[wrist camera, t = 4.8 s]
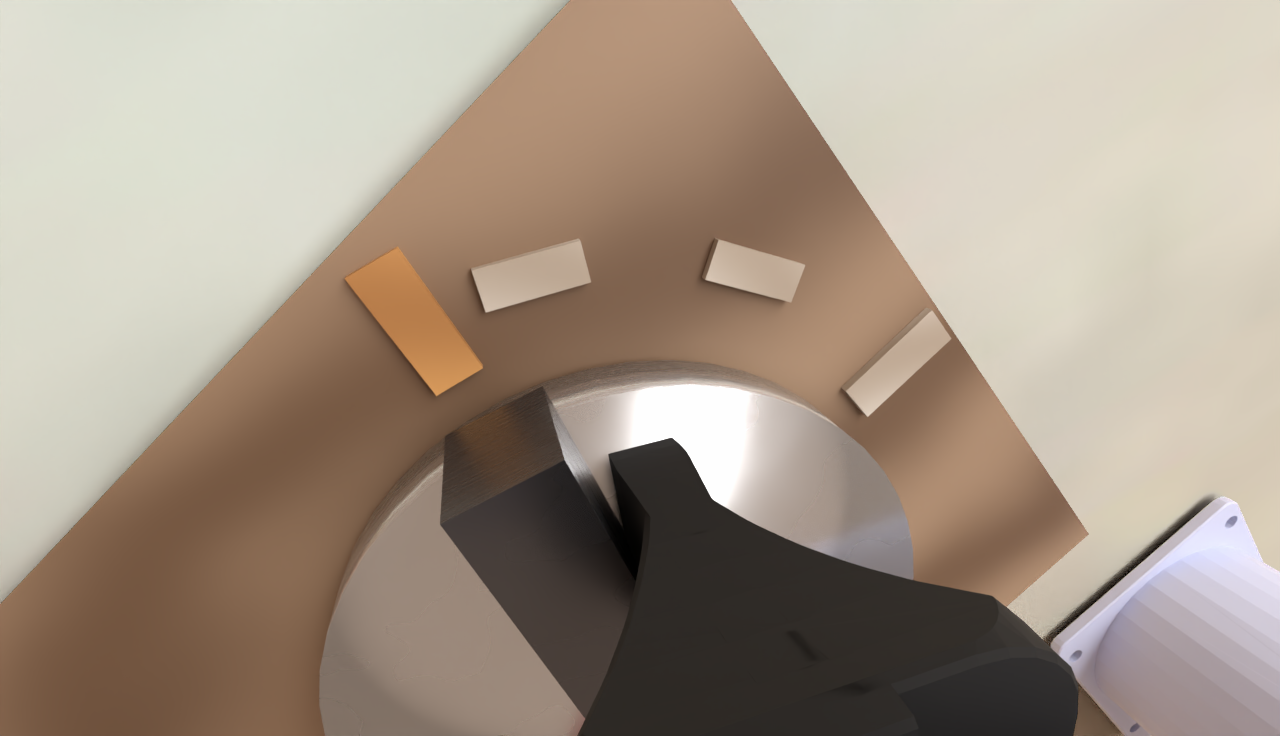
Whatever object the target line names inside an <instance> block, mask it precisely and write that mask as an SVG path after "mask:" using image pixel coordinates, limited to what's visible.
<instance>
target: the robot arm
mask: <svg viewBox="0 0 1280 736" xmlns="http://www.w3.org/2000/svg"><path fill="white" fill-rule="evenodd" d="M608 456H609V461H610V466H611V471H612V476H613V481H614V485H615V490H616V495H617V500H618V505H619V510H620V515H621V520H622V525H623V530H624V534H625V536H626V539H627V542H628V545H629V547H630V550H631V553H632V555H633V558H634V561H635V564H636V566H637V568H638V574H637V579H636V583H635V588H634V592H633V595H632V599H631V603H630V607H629V611H628V614H627V618H626V621H625V624H624V627H623V630H622V633H621V636H620V639H619V641H618V644H617V647H616V649H615V652H614V655H613V658H612V660H611V663H610V666H609V668H608V671H607V673H606V676H605V678H604V681H603V683H602V685H601V687H600V689H599V691H598V694H597V696H596V698H595V700H594V702H593V704H592V706H591V708H590V710H589V712H588V714H587V716H586V719H585V721H584V723H583V725H582V727H581V729H580V731H579V733H578V735H577V736H1073V733H1074V728H1075V724H1076V719H1077V714H1078V683H1079V684H1080V685H1081V687H1082V688H1083V689H1084V690H1085V691H1086V692H1087V693H1088V695H1089V696H1090V697H1091V698H1092V699H1093V700H1094V702H1095V703H1096V704H1097V705H1098V706H1099V707H1100V708H1101V710H1102V711H1103V712H1104V713H1105V714H1106V715H1107V716H1108V718H1109V719H1110V720H1111V721H1112V722H1113V723H1114V725H1115V726H1116V727H1117V728H1118V729H1119V730H1120V731H1121V733H1122V734H1123V735H1124V736H1280V572H1279V571H1277V570H1275V569H1274V568H1272V567H1270V566H1268V565H1266V564H1265V563H1263V560H1262V558H1261V556H1260V554H1259V551H1258V549H1257V547H1256V544H1255V542H1254V540H1253V538H1252V535H1251V533H1250V531H1249V529H1248V526H1247V524H1246V522H1245V519H1244V517H1243V515H1242V513H1241V510H1240V508H1239V506H1238V504H1237V503H1236V502H1235V501H1233V500H1231V499H1229V498H1227V497H1219V498H1216V499H1215V500H1213V501H1212V502H1211V503H1209V504H1208V505H1207V506H1206V507H1205V508H1204V509H1202V510H1201V511H1200V512H1199V513H1198V514H1197V515H1196V516H1194V517H1193V518H1192V519H1191V520H1190V521H1189V522H1187V523H1186V524H1185V525H1184V526H1183V527H1182V528H1181V529H1179V530H1178V531H1177V532H1176V533H1175V534H1174V535H1172V536H1171V537H1170V538H1169V539H1168V540H1167V541H1166V542H1164V543H1163V544H1162V545H1161V546H1160V547H1159V548H1157V549H1156V550H1155V551H1154V552H1153V553H1152V554H1151V555H1149V556H1148V557H1147V558H1146V559H1145V560H1144V561H1143V562H1141V563H1140V564H1139V565H1138V566H1137V567H1136V568H1134V569H1133V570H1132V571H1131V572H1130V573H1129V574H1128V575H1126V576H1125V577H1124V578H1123V579H1122V580H1121V581H1119V582H1118V583H1117V584H1116V585H1115V586H1114V587H1113V588H1111V589H1110V590H1109V591H1108V592H1107V593H1106V594H1104V595H1103V596H1102V597H1101V598H1100V599H1099V600H1098V601H1096V602H1095V603H1094V604H1093V605H1092V606H1091V607H1089V608H1088V609H1087V610H1086V611H1085V612H1084V613H1083V614H1081V615H1080V616H1079V617H1078V618H1077V619H1076V620H1074V621H1073V622H1072V623H1071V624H1070V625H1069V626H1068V627H1066V628H1065V629H1064V630H1063V631H1062V632H1061V633H1060V634H1058V635H1057V636H1056V637H1055V638H1054V639H1053V641H1052V643H1051V646H1050V647H1049V646H1048V645H1047V644H1046V643H1045V642H1044V641H1043V640H1042V639H1041V638H1040V637H1039V636H1038V635H1037V634H1036V633H1035V632H1034V631H1033V630H1032V629H1031V628H1030V627H1029V626H1028V625H1027V624H1026V623H1025V622H1024V621H1022V620H1021V619H1020V618H1019V617H1018V616H1016V615H1015V614H1014V613H1013V612H1011V611H1010V610H1009V609H1008V608H1007V607H1005V606H1004V605H1003V604H1002V603H1001V602H999V601H998V600H997V599H996V598H994V597H993V596H991V595H986V594H981V593H976V592H970V591H965V590H960V589H955V588H950V587H945V586H940V585H935V584H929V583H924V582H919V581H915V580H911V579H907V578H903V577H899V576H895V575H892V574H888V573H884V572H880V571H877V570H873V569H869V568H866V567H863V566H860V565H856V564H853V563H850V562H847V561H844V560H841V559H838V558H835V557H832V556H830V555H827V554H824V553H821V552H819V551H816V550H813V549H810V548H808V547H805V546H803V545H800V544H798V543H795V542H793V541H790V540H788V539H786V538H784V537H782V536H779V535H777V534H775V533H773V532H771V531H769V530H767V529H764V528H762V527H760V526H758V525H756V524H754V523H752V522H750V521H748V520H746V519H745V518H743V517H741V516H739V515H738V514H736V513H734V512H733V511H731V510H729V509H728V508H726V507H724V506H723V505H721V504H720V503H718V502H716V501H715V500H713V499H712V498H711V496H710V494H709V492H708V490H707V488H706V486H705V484H704V482H703V480H702V478H701V477H700V475H699V473H698V471H697V469H696V467H695V465H694V463H693V461H692V460H691V458H690V456H689V454H688V452H687V451H686V450H685V449H684V448H683V447H682V446H681V445H680V444H679V443H678V442H677V441H676V440H675V439H674V438H672V437H671V438H667V439H663V440H659V441H655V442H651V443H648V444H644V445H640V446H636V447H632V448H629V449H625V450H621V451H617V452H613V453H610V454H608ZM1077 682H1078V683H1077Z"/></svg>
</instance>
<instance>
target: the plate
mask: <svg viewBox="0 0 1280 736" xmlns="http://www.w3.org/2000/svg"><path fill="white" fill-rule="evenodd" d="M659 360H677V361H689V362H701V363H711V364H715V365H720V366H724V367H729V368H733V369H738V370H742V371H746V372H749V373H751V374H754V375H756V376H759V377H762V378H764V379H767V380H769V381H772V382H775V383H777V384H779V385H781V386H782V387H784V388H786V389H788V390H789V391H791V392H793V393H795V394H796V395H798V396H800V397H802V398H803V399H805V400H806V401H807V402H809V403H810V404H811V405H812V406H814V407H815V408H816V409H817V410H819V411H820V412H821V413H822V414H823V415H825V416H826V417H827V418H828V419H830V420H831V421H832V422H833V423H834V424H836V425H837V426H838V427H839V428H840V429H842V430H843V431H844V432H845V433H847V434H848V435H849V436H850V437H851V438H853V439H854V440H855V441H856V442H858V443H859V444H860V445H861V446H862V447H864V448H865V449H866V451H867V452H868V453H869V454H870V455H871V456H872V458H873V459H874V460H875V461H876V462H877V463H878V465H879V466H880V467H881V468H882V469H883V470H884V472H885V474H886V475H887V477H888V479H889V480H890V482H891V484H892V486H893V487H894V489H895V491H896V492H897V494H898V496H899V499H900V501H901V504H902V507H903V510H904V512H905V515H906V518H907V521H908V525H909V530H910V536H911V541H912V547H913V580H915V581H919V582H924V583H929V584H935V585H940V586H945V587H950V588H955V589H960V590H965V591H970V592H976V593H981V594H986V595H991V596H993V597H994V598H996V599H997V600H998V601H999V602H1001V603H1002V604H1003V605H1004V606H1005V607H1006V606H1008V605H1009V604H1010V603H1011V602H1012V601H1013V600H1014V599H1016V598H1017V597H1018V596H1019V595H1020V594H1021V593H1022V592H1024V591H1025V590H1026V589H1027V588H1028V587H1029V586H1030V585H1031V584H1033V583H1034V582H1035V581H1036V580H1037V579H1038V578H1039V577H1041V576H1042V575H1043V574H1044V573H1045V572H1046V571H1047V570H1049V569H1050V568H1051V567H1052V566H1053V565H1054V564H1055V563H1056V562H1058V561H1059V560H1060V559H1061V558H1062V557H1063V556H1064V555H1066V554H1067V553H1068V552H1069V551H1070V550H1071V549H1072V548H1074V547H1075V546H1076V545H1077V544H1078V543H1079V542H1080V541H1081V540H1083V539H1084V538H1085V537H1086V536H1087V535H1088V532H1087V531H1086V529H1085V528H1084V526H1083V525H1082V523H1081V522H1080V520H1079V519H1078V517H1077V516H1076V514H1075V513H1074V511H1073V510H1072V508H1071V507H1070V505H1069V504H1068V502H1067V501H1066V499H1065V498H1064V496H1063V495H1062V493H1061V492H1060V490H1059V489H1058V487H1057V486H1056V484H1055V483H1054V481H1053V480H1052V479H1051V477H1050V476H1049V474H1048V473H1047V471H1046V470H1045V468H1044V467H1043V465H1042V464H1041V462H1040V461H1039V459H1038V458H1037V456H1036V455H1035V453H1034V452H1033V450H1032V449H1031V447H1030V446H1029V444H1028V443H1027V441H1026V440H1025V438H1024V437H1023V435H1022V434H1021V432H1020V431H1019V429H1018V428H1017V426H1016V425H1015V423H1014V422H1013V420H1012V419H1011V417H1010V416H1009V414H1008V413H1007V411H1006V410H1005V408H1004V407H1003V405H1002V404H1001V402H1000V401H999V399H998V398H997V396H996V395H995V393H994V392H993V390H992V389H991V387H990V386H989V385H988V383H987V382H986V380H985V379H984V377H983V376H982V374H981V373H980V371H979V370H978V368H977V367H976V365H975V364H974V362H973V361H972V359H971V358H970V356H969V355H968V353H967V352H966V350H965V349H964V347H963V346H962V344H961V343H960V341H959V340H958V338H957V337H956V335H955V334H954V332H953V331H952V329H951V328H950V326H949V325H948V323H947V322H946V320H945V319H944V317H943V316H942V314H941V313H940V311H939V310H938V308H937V307H936V305H935V304H934V302H933V301H932V299H931V298H930V296H929V295H928V293H927V292H926V290H925V289H924V288H923V286H922V285H921V283H920V282H919V280H918V279H917V277H916V276H915V274H914V273H913V271H912V270H911V268H910V267H909V265H908V264H907V262H906V261H905V259H904V258H903V256H902V255H901V253H900V252H899V250H898V249H897V247H896V246H895V244H894V243H893V241H892V240H891V238H890V237H889V235H888V234H887V232H886V231H885V229H884V228H883V226H882V225H881V223H880V222H879V220H878V219H877V217H876V216H875V214H874V213H873V211H872V210H871V208H870V207H869V205H868V204H867V202H866V201H865V199H864V198H863V196H862V195H861V194H860V192H859V191H858V189H857V188H856V186H855V185H854V183H853V182H852V180H851V179H850V177H849V176H848V174H847V173H846V171H845V170H844V168H843V167H842V165H841V164H840V162H839V161H838V159H837V158H836V156H835V155H834V153H833V152H832V150H831V149H830V147H829V146H828V144H827V143H826V141H825V140H824V138H823V137H822V135H821V134H820V132H819V131H818V129H817V128H816V126H815V125H814V123H813V122H812V120H811V119H810V117H809V116H808V114H807V113H806V111H805V110H804V108H803V107H802V105H801V104H800V102H799V101H798V99H797V98H796V97H795V95H794V94H793V92H792V91H791V89H790V88H789V86H788V85H787V83H786V82H785V80H784V79H783V77H782V76H781V74H780V73H779V71H778V70H777V68H776V67H775V65H774V64H773V62H772V61H771V59H770V58H769V56H768V55H767V53H766V52H765V50H764V49H763V47H762V46H761V44H760V43H759V41H758V40H757V38H756V37H755V35H754V34H753V32H752V31H751V29H750V28H749V26H748V25H747V23H746V22H745V20H744V19H743V17H742V16H741V14H740V13H739V11H738V10H737V8H736V7H735V5H734V4H733V3H732V1H731V0H570V1H569V2H568V3H567V4H566V5H565V6H564V7H563V8H562V10H561V11H560V12H559V13H558V14H557V15H556V16H555V17H554V18H553V19H552V20H551V21H550V22H549V23H548V24H547V25H546V26H545V28H544V29H543V30H542V31H541V32H540V33H539V34H538V35H537V36H536V37H535V38H534V39H533V40H532V41H531V42H530V43H529V45H528V46H527V47H526V48H525V49H524V50H523V51H522V52H521V53H520V54H519V55H518V56H517V57H516V58H515V59H514V60H513V61H512V63H511V64H510V65H509V66H508V67H507V68H506V69H505V70H504V71H503V72H502V73H501V74H500V75H499V76H498V77H497V78H496V79H495V81H494V82H493V83H492V84H491V85H490V86H489V87H488V88H487V89H486V90H485V91H484V92H483V93H482V94H481V95H480V96H479V97H478V99H477V100H476V101H475V102H474V103H473V104H472V105H471V106H470V107H469V108H468V109H467V110H466V111H465V112H464V113H463V114H462V116H461V117H460V118H459V119H458V120H457V121H456V122H455V123H454V124H453V125H452V126H451V127H450V128H449V129H448V130H447V131H446V132H445V134H444V135H443V136H442V137H441V138H440V139H439V140H438V141H437V142H436V143H435V144H434V145H433V146H432V147H431V148H430V149H429V150H428V152H427V153H426V154H425V155H424V156H423V157H422V158H421V159H420V160H419V161H418V162H417V163H416V164H415V165H414V166H413V167H412V168H411V170H410V171H409V172H408V173H407V174H406V175H405V176H404V177H403V178H402V179H401V180H400V181H399V182H398V183H397V184H396V185H395V187H394V188H393V189H392V190H391V191H390V192H389V193H388V194H387V195H386V196H385V197H384V198H383V199H382V200H381V201H380V202H379V203H378V205H377V206H376V207H375V208H374V209H373V210H372V211H371V212H370V213H369V214H368V215H367V216H366V217H365V218H364V219H363V220H362V221H361V223H360V224H359V225H358V226H357V227H356V228H355V229H354V230H353V231H352V232H351V233H350V234H349V235H348V236H347V237H346V238H345V239H344V241H343V242H342V243H341V244H340V245H339V246H338V247H337V248H336V249H335V250H334V251H333V252H332V253H331V254H330V255H329V256H328V258H327V259H326V260H325V261H324V262H323V263H322V264H321V265H320V266H319V267H318V268H317V269H316V270H315V271H314V272H313V273H312V274H311V276H310V277H309V278H308V279H307V280H306V281H305V282H304V283H303V284H302V285H301V286H300V287H299V288H298V289H297V290H296V291H295V292H294V294H293V295H292V296H291V297H290V298H289V299H288V300H287V301H286V302H285V303H284V304H283V305H282V306H281V307H280V308H279V309H278V310H277V312H276V313H275V314H274V315H273V316H272V317H271V318H270V319H269V320H268V321H267V322H266V323H265V324H264V325H263V326H262V327H261V329H260V330H259V331H258V332H257V333H256V334H255V335H254V336H253V337H252V338H251V339H250V340H249V341H248V342H247V343H246V344H245V345H244V347H243V348H242V349H241V350H240V351H239V352H238V353H237V354H236V355H235V356H234V357H233V358H232V359H231V360H230V361H229V362H228V363H227V365H226V366H225V367H224V368H223V369H222V370H221V371H220V372H219V373H218V374H217V375H216V376H215V377H214V378H213V379H212V380H211V381H210V383H209V384H208V385H207V386H206V387H205V388H204V389H203V390H202V391H201V392H200V393H199V394H198V395H197V396H196V397H195V398H194V400H193V401H192V402H191V403H190V404H189V405H188V406H187V407H186V408H185V409H184V410H183V411H182V412H181V413H180V414H179V415H178V416H177V418H176V419H175V420H174V421H173V422H172V423H171V424H170V425H169V426H168V427H167V428H166V429H165V430H164V431H163V432H162V433H161V434H160V436H159V437H158V438H157V439H156V440H155V441H154V442H153V443H152V444H151V445H150V446H149V447H148V448H147V449H146V450H145V451H144V452H143V454H142V455H141V456H140V457H139V458H138V459H137V460H136V461H135V462H134V463H133V464H132V465H131V466H130V467H129V468H128V469H127V471H126V472H125V473H124V474H123V475H122V476H121V477H120V478H119V479H118V480H117V481H116V482H115V483H114V484H113V485H112V486H111V487H110V489H109V490H108V491H107V492H106V493H105V494H104V495H103V496H102V497H101V498H100V499H99V500H98V501H97V502H96V503H95V504H94V505H93V507H92V508H91V509H90V510H89V511H88V512H87V513H86V514H85V515H84V516H83V517H82V518H81V519H80V520H79V521H78V522H77V523H76V525H75V526H74V527H73V528H72V529H71V530H70V531H69V532H68V533H67V534H66V535H65V536H64V537H63V538H62V539H61V540H60V542H59V543H58V544H57V545H56V546H55V547H54V548H53V549H52V550H51V551H50V552H49V553H48V554H47V555H46V556H45V557H44V558H43V560H42V561H41V562H40V563H39V564H38V565H37V566H36V567H35V568H34V569H33V570H32V571H31V572H30V573H29V574H28V575H27V576H26V578H25V579H24V580H23V581H22V582H21V583H20V584H19V585H18V586H17V587H16V588H15V589H14V590H13V591H12V592H11V593H10V594H9V596H8V597H7V598H6V599H5V600H4V601H3V602H2V603H1V604H0V736H325V733H324V728H323V722H322V717H321V712H320V706H319V686H320V666H321V661H322V656H323V651H324V646H325V641H326V636H327V631H328V628H329V624H330V620H331V616H332V612H333V609H334V605H335V601H336V597H337V594H338V590H339V586H340V582H341V579H342V577H343V574H344V571H345V569H346V566H347V563H348V561H349V558H350V556H351V553H352V550H353V548H354V546H355V544H356V542H357V540H358V538H359V537H360V535H361V533H362V531H363V530H364V528H365V526H366V524H367V523H368V521H369V519H370V517H371V516H372V514H373V512H374V511H375V510H376V508H377V507H378V506H379V504H380V503H381V502H382V501H383V499H384V498H385V497H386V495H387V494H388V493H389V492H390V490H391V489H392V488H393V486H394V485H395V484H396V482H397V481H398V480H399V479H400V478H401V477H402V476H403V475H404V474H405V473H406V472H407V471H408V470H409V469H410V468H411V467H412V466H413V465H414V464H415V463H416V462H417V461H418V460H419V459H420V458H421V457H422V456H423V455H424V454H425V453H426V452H427V451H428V450H429V449H431V448H432V447H433V446H435V445H436V444H437V443H439V442H440V441H441V440H442V439H444V438H445V435H447V434H449V433H451V432H453V431H454V430H456V429H457V428H458V427H460V426H461V425H462V424H464V423H465V422H467V421H468V420H470V419H472V418H473V417H475V416H477V415H479V414H480V413H482V412H484V411H485V410H487V409H489V408H491V407H492V406H494V405H496V404H497V403H499V402H501V401H502V400H504V399H507V398H509V397H511V396H514V395H516V394H518V393H521V392H523V391H525V390H527V389H530V388H532V387H534V386H537V385H539V384H541V383H544V382H546V381H550V380H553V379H556V378H560V377H563V376H566V375H570V374H573V373H576V372H580V371H583V370H586V369H591V368H597V367H603V366H609V365H614V364H620V363H626V362H638V361H659Z"/></svg>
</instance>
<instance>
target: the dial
mask: <svg viewBox="0 0 1280 736" xmlns="http://www.w3.org/2000/svg"><path fill="white" fill-rule="evenodd" d="M671 437H672V438H674V439H675V440H676V441H677V442H678V443H679V444H680V445H681V446H682V447H683V448H684V449H685V450H686V451H687V452H688V454H689V456H690V458H691V460H692V461H693V463H694V465H695V467H696V469H697V471H698V473H699V475H700V477H701V478H702V480H703V482H704V484H705V486H706V488H707V490H708V492H709V494H710V496H711V498H712V499H713V500H715V501H716V502H718V503H720V504H721V505H723V506H724V507H726V508H728V509H729V510H731V511H733V512H734V513H736V514H738V515H739V516H741V517H743V518H745V519H746V520H748V521H750V522H752V523H754V524H756V525H758V526H760V527H762V528H764V529H767V530H769V531H771V532H773V533H775V534H777V535H779V536H782V537H784V538H786V539H788V540H790V541H793V542H795V543H798V544H800V545H803V546H805V547H808V548H810V549H813V550H816V551H819V552H821V553H824V554H827V555H830V556H832V557H835V558H838V559H841V560H844V561H847V562H850V563H853V564H856V565H860V566H863V567H866V568H869V569H873V570H877V571H880V572H884V573H888V574H892V575H895V576H899V577H903V578H907V579H911V580H913V547H912V541H911V536H910V530H909V525H908V521H907V518H906V515H905V512H904V510H903V507H902V504H901V501H900V499H899V496H898V494H897V492H896V491H895V489H894V487H893V486H892V484H891V482H890V480H889V479H888V477H887V475H886V474H885V472H884V470H883V469H882V468H881V467H880V466H879V465H878V463H877V462H876V461H875V460H874V459H873V458H872V456H871V455H870V454H869V453H868V452H867V451H866V449H865V448H864V447H862V446H861V445H860V444H859V443H858V442H856V441H855V440H854V439H853V438H851V437H850V436H849V435H848V434H847V433H845V432H844V431H843V430H842V429H840V428H839V427H838V426H837V425H836V424H834V423H833V422H832V421H831V420H830V419H828V418H827V417H826V416H825V415H823V414H822V413H821V412H820V411H819V410H817V409H816V408H815V407H814V406H812V405H811V404H810V403H809V402H807V401H806V400H805V399H803V398H802V397H800V396H798V395H796V394H795V393H793V392H791V391H789V390H788V389H786V388H784V387H782V386H781V385H779V384H777V383H775V382H772V381H769V380H767V379H764V378H762V377H759V376H756V375H754V374H751V373H749V372H746V371H742V370H738V369H733V368H729V367H724V366H720V365H715V364H711V363H701V362H689V361H677V360H659V361H638V362H626V363H620V364H614V365H609V366H603V367H597V368H591V369H586V370H583V371H580V372H576V373H573V374H570V375H566V376H563V377H560V378H556V379H553V380H550V381H546V382H544V383H541V384H539V385H537V386H534V387H532V388H530V389H527V390H525V391H523V392H521V393H518V394H516V395H514V396H511V397H509V398H507V399H504V400H502V401H501V402H499V403H497V404H496V405H494V406H492V407H491V408H489V409H487V410H485V411H484V412H482V413H480V414H479V415H477V416H475V417H473V418H472V419H470V420H468V421H467V422H465V423H464V424H462V425H461V426H460V427H458V428H457V429H456V430H454V431H453V432H451V433H449V434H447V435H445V438H444V439H442V440H441V441H440V442H439V443H437V444H436V445H435V446H433V447H432V448H431V449H429V450H428V451H427V452H426V453H425V454H424V455H423V456H422V457H421V458H420V459H419V460H418V461H417V462H416V463H415V464H414V465H413V466H412V467H411V468H410V469H409V470H408V471H407V472H406V473H405V474H404V475H403V476H402V477H401V478H400V479H399V480H398V481H397V482H396V484H395V485H394V486H393V488H392V489H391V490H390V492H389V493H388V494H387V495H386V497H385V498H384V499H383V501H382V502H381V503H380V504H379V506H378V507H377V508H376V510H375V511H374V512H373V514H372V516H371V517H370V519H369V521H368V523H367V524H366V526H365V528H364V530H363V531H362V533H361V535H360V537H359V538H358V540H357V542H356V544H355V546H354V548H353V550H352V553H351V556H350V558H349V561H348V563H347V566H346V569H345V571H344V574H343V577H342V579H341V582H340V586H339V590H338V594H337V597H336V601H335V605H334V609H333V612H332V616H331V620H330V624H329V628H328V631H327V636H326V641H325V646H324V651H323V656H322V661H321V666H320V686H319V706H320V712H321V717H322V722H323V728H324V733H325V736H577V735H578V733H579V731H580V729H581V727H582V725H583V723H584V721H585V719H586V716H587V714H588V712H589V710H590V708H591V706H592V704H593V702H594V700H595V698H596V696H597V694H598V691H599V689H600V687H601V685H602V683H603V681H604V678H605V676H606V673H607V671H608V668H609V666H610V663H611V660H612V658H613V655H614V652H615V649H616V647H617V644H618V641H619V639H620V636H621V633H622V630H623V627H624V624H625V621H626V618H627V614H628V611H629V607H630V603H631V599H632V595H633V592H634V588H635V583H636V579H637V574H638V568H637V566H636V564H635V561H634V558H633V555H632V553H631V550H630V547H629V545H628V542H627V539H626V536H625V534H624V530H623V525H622V520H621V515H620V510H619V505H618V500H617V495H616V490H615V485H614V481H613V476H612V471H611V466H610V461H609V456H608V454H610V453H613V452H617V451H621V450H625V449H629V448H632V447H636V446H640V445H644V444H648V443H651V442H655V441H659V440H663V439H667V438H671Z"/></svg>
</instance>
